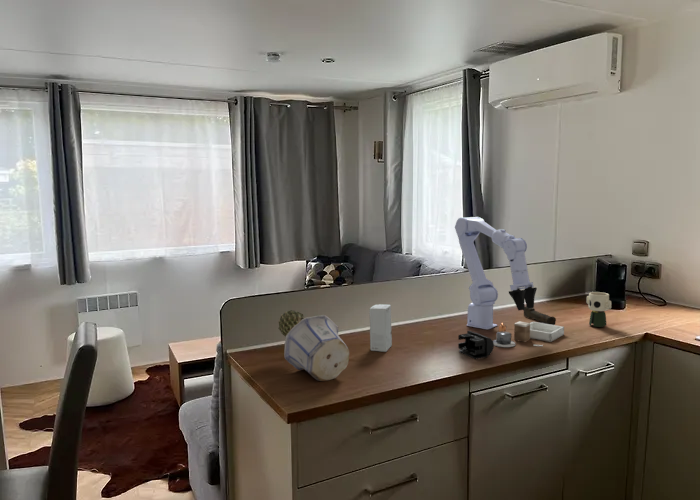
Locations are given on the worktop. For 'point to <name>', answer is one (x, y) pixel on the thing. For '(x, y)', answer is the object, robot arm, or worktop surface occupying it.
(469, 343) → the end cap
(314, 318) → the potted plant
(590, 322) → the character mug
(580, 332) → the worktop surface
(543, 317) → the hand tool
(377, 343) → the skincare box
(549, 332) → the tray
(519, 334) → the block
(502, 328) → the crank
